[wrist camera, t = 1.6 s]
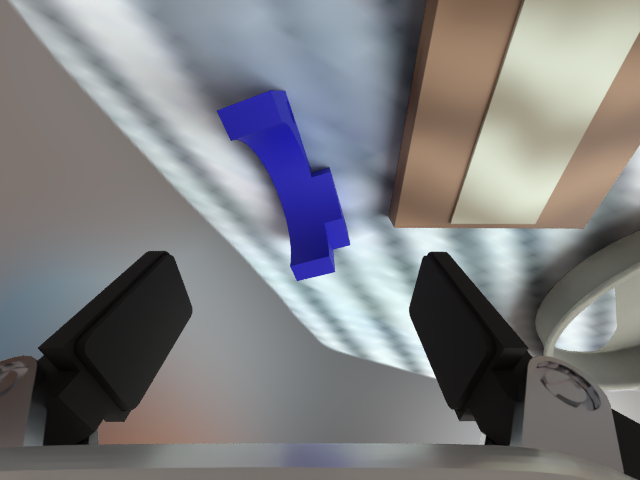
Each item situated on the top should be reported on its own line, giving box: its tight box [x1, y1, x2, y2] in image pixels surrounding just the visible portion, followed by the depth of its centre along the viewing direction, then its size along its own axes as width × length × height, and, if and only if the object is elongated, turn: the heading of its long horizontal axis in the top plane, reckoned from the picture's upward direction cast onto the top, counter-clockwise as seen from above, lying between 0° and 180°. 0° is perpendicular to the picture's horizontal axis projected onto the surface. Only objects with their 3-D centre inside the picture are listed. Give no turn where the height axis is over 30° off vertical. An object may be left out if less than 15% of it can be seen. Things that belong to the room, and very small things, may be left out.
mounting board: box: [389, 0, 640, 229], centre depth 17 cm, size 16×16×2 cm
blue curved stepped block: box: [217, 90, 350, 281], centre depth 17 cm, size 12×4×6 cm, turn 17°
